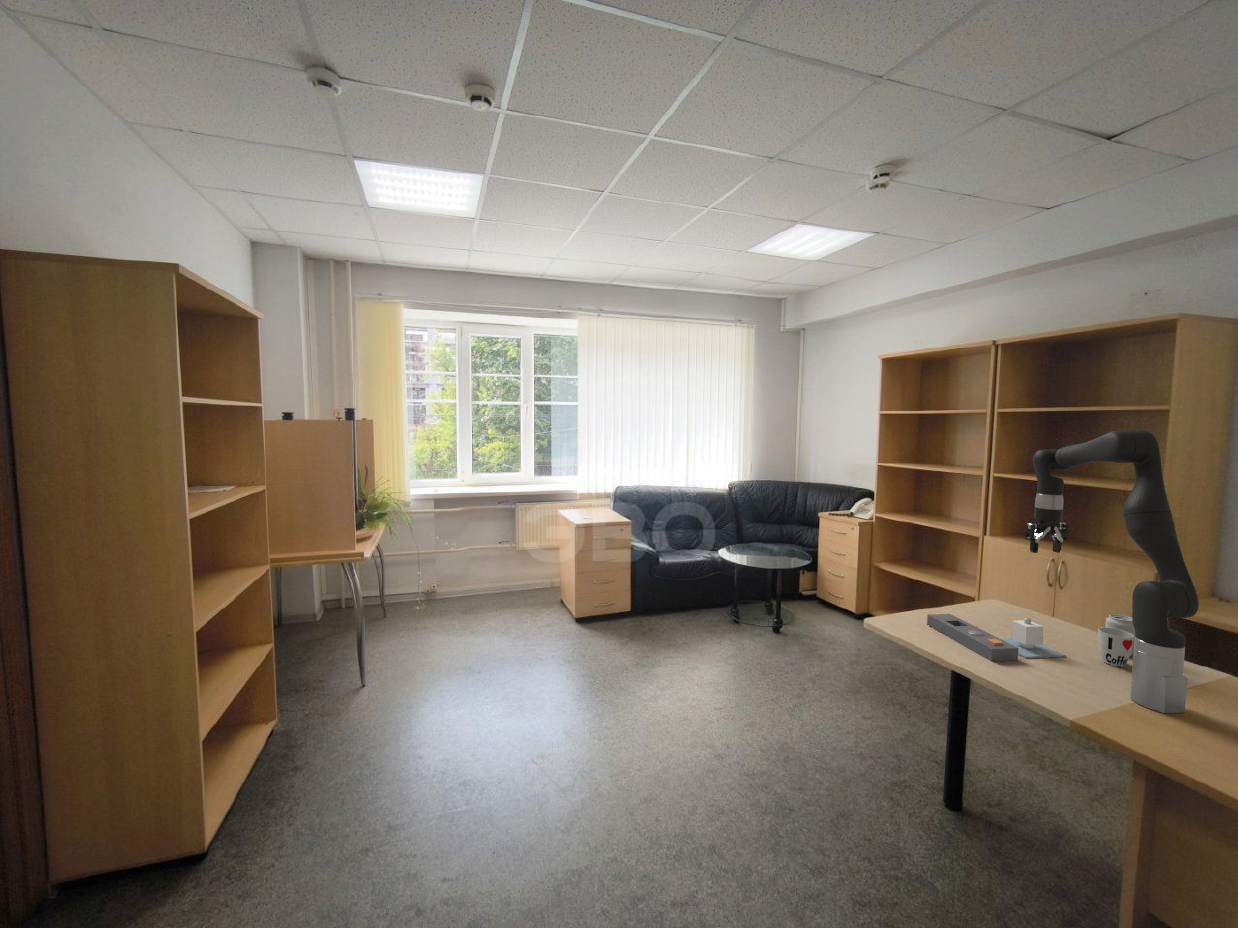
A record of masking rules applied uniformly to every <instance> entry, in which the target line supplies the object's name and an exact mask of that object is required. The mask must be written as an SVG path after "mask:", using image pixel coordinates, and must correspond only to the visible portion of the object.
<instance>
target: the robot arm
mask: <svg viewBox="0 0 1238 928" xmlns="http://www.w3.org/2000/svg"><path fill="white" fill-rule="evenodd" d="M1094 462H1109V463H1110V462H1111V463H1118V464H1124V463H1125V464H1128V463H1129V464H1133V466H1134V472H1135V482H1134V486H1133V488H1132V489H1131V491H1130V493H1128V496H1127V499H1125V502H1124V504H1123V508H1122V510H1123V511H1122V513H1123V516H1124V522H1125V527H1126V530H1127V533H1128V535H1129V537H1130V538H1131V539H1132V540H1133V542H1134V543H1135V544H1136V545H1137V546H1138V547H1139V548H1140V549H1141V550H1142V551H1143V553H1145V554H1146V555H1147V556H1148V557H1149V559H1150V560H1151V561H1152V563H1153V565H1154V568H1155V569H1156V572H1157V576H1158V580H1159V581H1157V580H1145V581H1141V582H1140V581H1139V582H1138V583H1137V584H1136V585H1135V587H1134V589H1133V591H1132V599H1131V602H1132V603H1131V604H1132V605H1131V608H1132V613H1131V618H1132V623H1133V626H1134V629H1135V642H1134V654H1133V655H1132V656H1133V657H1132V671H1131V682H1130V683H1131V685H1130V699H1131V701H1133V702H1134V703H1136V704H1139V706H1142V707H1144V708H1147V709H1150V710H1153V711H1157V712H1160V713H1162V714H1179V713H1181V714H1182V713H1183V714H1184V713H1185V712H1186V702H1187V701H1186V700H1187V691H1188V689H1187V688H1188V677H1187V676H1186V675H1184V666H1185V657H1186V656H1185V655H1186V654H1185V652H1186V644H1187V642H1186V641H1187V640H1186V638H1187V637H1186V636H1185V635H1184V634H1183V633H1181V632H1180V631H1177V630H1175V629H1172V628H1169V621H1168V618H1172V619H1173V618H1175V619H1178V618H1179V619H1181V618H1182V619H1184V618H1185V619H1186V618H1191V617H1194V616H1195V615H1196V614H1197V613H1198V611H1199V607H1200V605H1199V595H1198V593H1197V590H1196V587H1195V585H1194V583H1193V580H1192V577H1191V575H1190V572H1189V571H1188V567H1187V565H1186V563H1185V559H1184V556H1183V553H1182V549H1181V546H1180V542H1179V540H1178V535H1177V532H1176V531H1177V530H1176V525H1175V521H1174V518H1173V514H1172V510H1171V506H1170V504H1169V500H1168V495H1167V492H1166V487H1165V483H1164V482H1165V481H1164V477H1163V469H1162V459H1161V451H1160V446H1159V442H1158V439H1157V437H1156V436H1155V434H1153V433H1152V432H1151V431H1149V430H1145V429H1142V430H1141V429H1140V430H1138V429H1136V430H1128V429H1127V430H1114V431H1110V432H1107V433H1105V434H1102V435H1100V436H1098V437H1096V438H1094V439H1091V440H1089V441H1086V442H1082V443H1077V444H1071V445H1067V446H1062V447H1060V448H1059V449H1039V450H1037V451H1036V452H1034V454H1033V457H1032V464H1033V468H1034V472H1035V475H1036V477H1035V478H1036V480H1037V481H1036V482H1037V486H1036V496H1035V500H1034V501H1035V502H1034V513H1033V518H1034V520H1035V523H1031V522H1027V523H1026V526H1025V532H1024V540H1025V541H1029V551H1030V553H1033V554H1038V553H1039V543H1040V540H1041V539H1044V537H1047V536H1048V537H1049V536H1050V537H1052V539H1053V542H1052V552H1053V553H1056V554H1058V553H1061V551H1062V544H1063V542H1064V541H1068V540H1069V525H1070V524H1068V523H1066V522H1062V521H1063V513H1064V512H1063V511H1064V490H1065V489H1064V487H1065V481H1064V479H1063V478H1061V477H1058V476H1053V475H1052V474H1051V472H1050V471H1062V470H1063V471H1066V470H1070V469H1072V468H1076V467H1082V466H1087V465H1090V464H1092V463H1094Z"/></svg>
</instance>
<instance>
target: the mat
mask: <svg viewBox="0 0 1238 928" xmlns="http://www.w3.org/2000/svg"><path fill="white" fill-rule="evenodd" d="M999 639H1001V640H1003V641H1005V642H1007V643H1009V644H1011V645H1013V646H1015V647H1017V648H1018V657H1022V658H1024V659H1049V657H1056V658H1066V657H1067V655H1066V654H1064V653H1061V652H1060V651H1058V650H1055V649H1053V648H1051V647H1049V646H1047V645H1045V644H1044V643H1043V644H1035V645H1034V649H1026V648H1023V647H1020V646H1019V641H1017V640H1015V639H1013V638H1010V637H1008V638H1007V637H1004V638H999Z"/></svg>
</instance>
